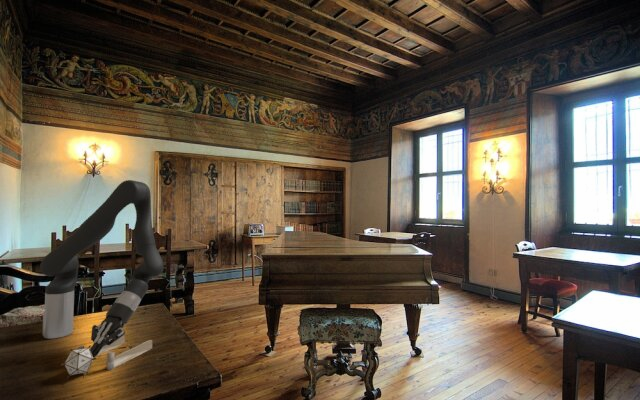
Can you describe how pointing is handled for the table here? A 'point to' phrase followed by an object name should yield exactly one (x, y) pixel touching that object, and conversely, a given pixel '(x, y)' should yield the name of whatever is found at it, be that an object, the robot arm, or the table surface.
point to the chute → (124, 356)
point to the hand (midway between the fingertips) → (90, 356)
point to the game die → (79, 361)
